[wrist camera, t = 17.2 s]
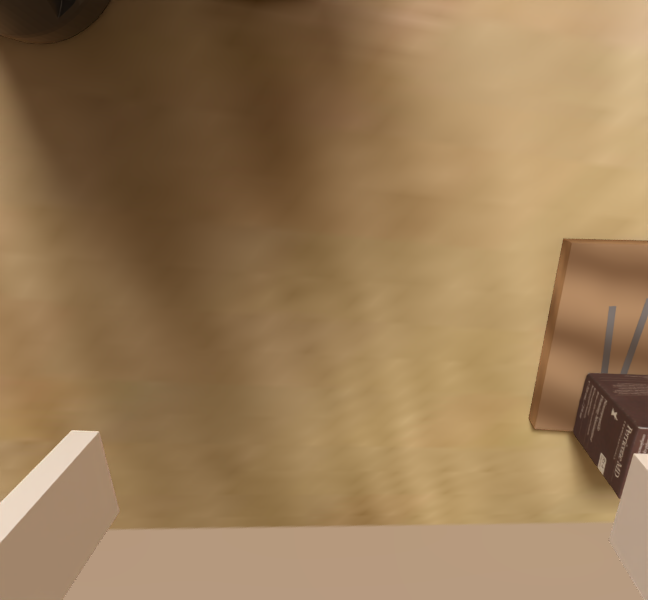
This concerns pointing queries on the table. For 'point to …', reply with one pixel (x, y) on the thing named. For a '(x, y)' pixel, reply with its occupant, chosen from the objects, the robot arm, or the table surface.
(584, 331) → the board
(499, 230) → the table surface
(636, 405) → the box
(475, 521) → the table surface
